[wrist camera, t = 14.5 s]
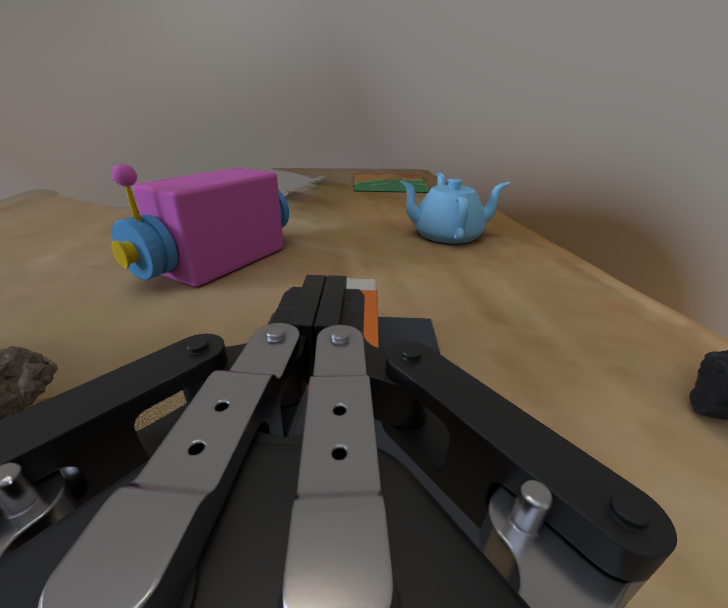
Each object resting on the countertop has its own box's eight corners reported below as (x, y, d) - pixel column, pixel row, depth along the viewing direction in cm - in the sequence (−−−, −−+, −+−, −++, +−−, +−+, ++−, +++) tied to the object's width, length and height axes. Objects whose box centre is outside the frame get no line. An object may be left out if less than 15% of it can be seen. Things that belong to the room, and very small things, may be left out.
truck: (381, 347, 24) (378, 269, 35) (301, 345, 24) (324, 268, 35) (377, 418, 27) (375, 326, 38) (307, 415, 27) (326, 324, 38)
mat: (504, 599, 18) (505, 596, 17) (146, 585, 18) (144, 582, 18) (430, 321, 40) (430, 318, 40) (273, 316, 40) (272, 313, 40)
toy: (265, 231, 67) (255, 145, 59) (303, 240, 63) (298, 149, 55) (115, 288, 45) (70, 164, 38) (159, 306, 42) (119, 172, 34)
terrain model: (354, 175, 121) (354, 173, 121) (419, 176, 122) (419, 174, 122) (353, 190, 100) (353, 188, 99) (432, 192, 100) (433, 190, 100)
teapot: (460, 255, 59) (472, 192, 53) (390, 233, 67) (394, 177, 62) (498, 236, 68) (511, 180, 63) (433, 219, 77) (439, 169, 72)
